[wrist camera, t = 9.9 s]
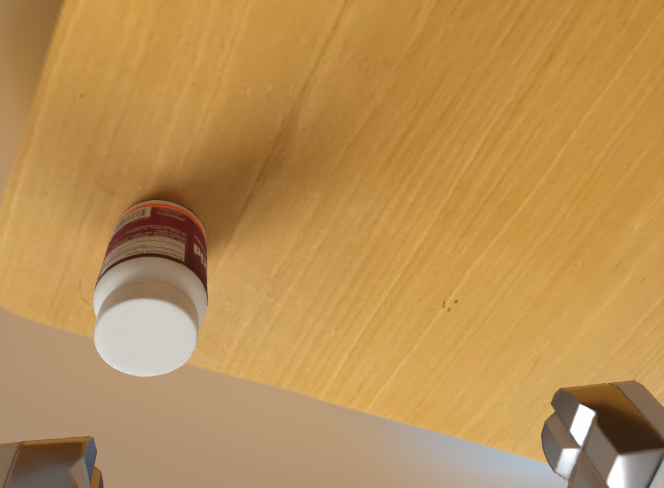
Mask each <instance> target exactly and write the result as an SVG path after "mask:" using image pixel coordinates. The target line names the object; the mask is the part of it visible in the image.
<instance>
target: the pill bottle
mask: <svg viewBox="0 0 664 488" xmlns="http://www.w3.org/2000/svg"><path fill="white" fill-rule="evenodd" d="M93 304H94V311H95V315H96V318H97V321H96V325H95V331H94V341H95V346H96V348H97V351H98V352H99V354H100V356H101V357H102V358H103V359H104V360H105V361H106V362H107V363H108V364H109V365H110V366H112V367H113V368H115V369H117V370H119V371H122V372H124V373H127V374H131V375H135V376H156V375H161V374H165V373H168V372H171V371H173V370H175V369H177V368H178V367H180V366H182V365H183V364H184V363H185V362H186V361H187V360H188V359H189V358H190V357H191V356H192V354H193V352H194V350H195V348H196V346H197V342H198V332H199V326H200V324H201V323H202V321H203V319H204V316H205V313H206V309H207V305H208V294H207V247H206V235H205V231H204V228H203V226H202V224H201V222H200V221H199V219H198V218H197V217H196V216H195V215H194V214H193V213H192V212H191V211H189V210H188V209H186V208H185V207H183V206H181V205H178V204H176V203H173V202H168V201H162V200H151V201H145V202H142V203H139V204H136V205H134V206H132V207H131V208H129V209H128V210H126V211H125V212H124V213H123V214H122V215H121V216H120V218H119V219H118V221H117V222H116V224H115V226H114V228H113V231H112V235H111V238H110V242H109V245H108V248H107V251H106V255H105V258H104V261H103V265H102V268H101V271H100V275H99V277H98V281H97V283H96V287H95V292H94V300H93Z"/></svg>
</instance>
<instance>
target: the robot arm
mask: <svg viewBox="0 0 664 488" xmlns="http://www.w3.org/2000/svg"><path fill="white" fill-rule="evenodd" d="M551 405H552V407H553V408H554V410H555V412H554V413H553V414H552V415H551V416H550V417H549V418H548V419H547V420H546V421H545V423H544V426H543V430H542V433H541V438H542V447H543V451H544V454H545V457H546V459H547V462H548V463H549V465H550V467H551V468H552V470H553V471H554V473H556V474H558V475H559V476H560V477H562V478H563V479H565V480H566V481H568V488H664V407H663V406H662V405H661V404H660V403H659V402H658V401H657V400H656V399H655V398H654V397H653V396H652V394H651V393H650V392H649V391H648V390H647V389H646V388H645V387H644V386H643V385H642V384H640V383H638V382H636V381H634V380H633V381H623V382H614V383H608V384H606V383H603V384H594V385H585V386H576V387H568V388H560V389H559V390H558V391H557V392H556V393H555V394H554V396H553V399H552V402H551ZM96 453H97V450H96V446H95V442H94V439H93V437H91V436H86V437H73V438H60V439H47V440H34V441H23V442H14V443H1V444H0V488H103V479H102V474H101V470H99V469H98V468H96V467H95V466H94V464H95V459H96Z"/></svg>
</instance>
